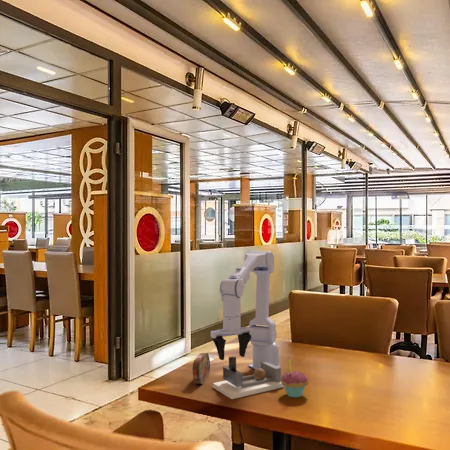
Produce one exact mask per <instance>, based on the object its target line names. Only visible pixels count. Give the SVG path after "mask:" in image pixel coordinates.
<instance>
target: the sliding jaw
mask: <svg viewBox="0 0 450 450" xmlns="http://www.w3.org/2000/svg"><path fill="white" fill-rule="evenodd" d="M222 373H223V374H222V378H223V379H222V380H223V381H225V380H226V381H228V382H230V383H231V384H233V385H235V386H236V387H239V386H243V377H244V375H243V372H241V371H239V370H237V357H236V356H232V355H231V356H229V357H228V365H225V366H223V367H222Z"/></svg>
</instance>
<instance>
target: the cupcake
mask: <svg viewBox="0 0 450 450" xmlns="http://www.w3.org/2000/svg"><path fill="white" fill-rule="evenodd" d="M287 361H288V366H289V371H288V372H285V373H284V374H282V375H281V383H282V385H284V387H283V388H284V389H285V392H286V395H287V396H288V397H289V398H290V397H291V398H300V397H302V396H303V393H304V390H305V388H306V387H307V386H309V379H308V377H307V376H306V375H305V374H304V373H303V372H301V371H297V370H295V371H294V370H293V369H292V362H291V359H290V358H288V360H287Z"/></svg>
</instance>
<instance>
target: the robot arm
mask: <svg viewBox="0 0 450 450" xmlns="http://www.w3.org/2000/svg"><path fill="white" fill-rule="evenodd" d="M243 261H244V262H243V263H242V265H241V266H237V267H236V268H235V269H234V270H233V272H232V273H231V274H230V275H229V277H228V278H224V279H222V280H221V282H220V284H219V293H220V298H221V299H220V300H221V303H222V328H221V329H220V328H219V329H216V330H211V331H210V338H211V339H212V341H213V343H214V346H215V349H216V350H217V354H218V355H217V356H218V358H219V359H218V360H221V361H224V360H225V346H226V342H227V340H226V339H224V337H229V336H237V339H238V340H237V341H238V354H239V356H240V357H242V358H245V355H246V351H247V349H248V345H249V343H250V344H251V345H252V363H250V364H248V365H247V366H248V367H250V368H252V369H254V370H256V369H258V368H261V363H260V362H263V361H266V362H269V363H271V364H273V365H275V366H278V367H280V368H281V365H280V359H279V357H280V355H279V347H278V344H277V343H276V341H277V334H278V333H277V327H276V325H277V324H276V323H275V322H274V320H272V319H271V318H270V317H269V316H270V314H269V313H270V311H269V309H270V282H271V281H270V277H271V274H272V273H274V272H275V271H274V269H275V256H274V254H273V252H272V251H271V250H247V251H246V252H245V254H244V260H243ZM251 272H252V273H254V274H255V276H256V289H255V290H256V292H255V293H256V294H255V316H254V318H253V319H251V320H250V321H249V324H248V326H242V325H241V324H242V321H241V319H242V318H241V297H242V296H243V294H244V290H245V287H246V284H247V283H248V281H250V278H251Z"/></svg>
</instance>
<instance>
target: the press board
mask: <svg viewBox="0 0 450 450" xmlns="http://www.w3.org/2000/svg"><path fill="white" fill-rule="evenodd" d="M260 363H261V369H263V370H264V371H265V378H264V379H262V380H256V379H255V378H254V374H250V375H245V376H243V386H239V387H236V386H235V385H233V384H231V383H230V382H228V381H226V380H220V381H217V382H213V383H212V387H213V389H214V390H216V391H218V392H220V393H221V394H223V395H224V396H225V397H227V398H229V399H231V400H234V399H235V400H236V399H239V398H243V397H248V396H251V395H257V394H260V393H264V392H268V391H273V390H277V389H281V388H285V387H284V385H282V383H281V378H282V369H281V366H280V367H278V366H275V365H273V364H271V363H269V362H266V361H263V362H260Z"/></svg>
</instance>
